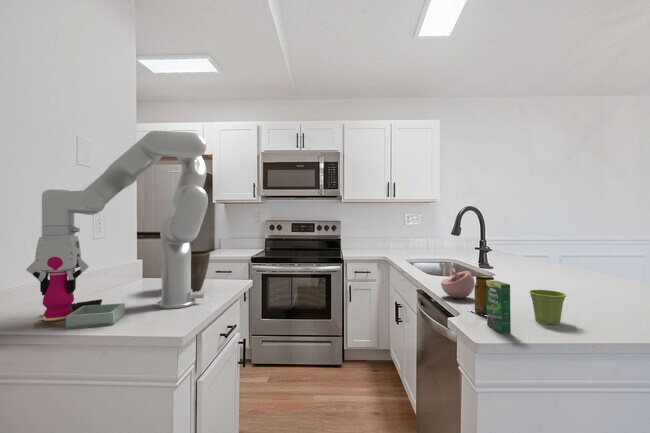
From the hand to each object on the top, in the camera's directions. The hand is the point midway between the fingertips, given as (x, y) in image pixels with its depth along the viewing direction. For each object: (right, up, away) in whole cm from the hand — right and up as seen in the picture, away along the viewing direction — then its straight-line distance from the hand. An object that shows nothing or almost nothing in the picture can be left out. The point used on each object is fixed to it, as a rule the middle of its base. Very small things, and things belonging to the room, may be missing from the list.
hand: (58, 292), depth 98 cm
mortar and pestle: (+129, -9, +30) cm, 133 cm away
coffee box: (+126, -9, -5) cm, 127 cm away
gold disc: (0, -9, 0) cm, 9 cm away
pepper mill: (0, -7, 0) cm, 7 cm away
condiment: (+130, -9, +9) cm, 131 cm away
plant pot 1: (+22, -9, +44) cm, 50 cm away
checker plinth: (0, -9, 0) cm, 9 cm away
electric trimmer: (-5, -9, +12) cm, 16 cm away
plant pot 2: (+144, -9, +1) cm, 144 cm away
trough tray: (+10, -9, +2) cm, 14 cm away
